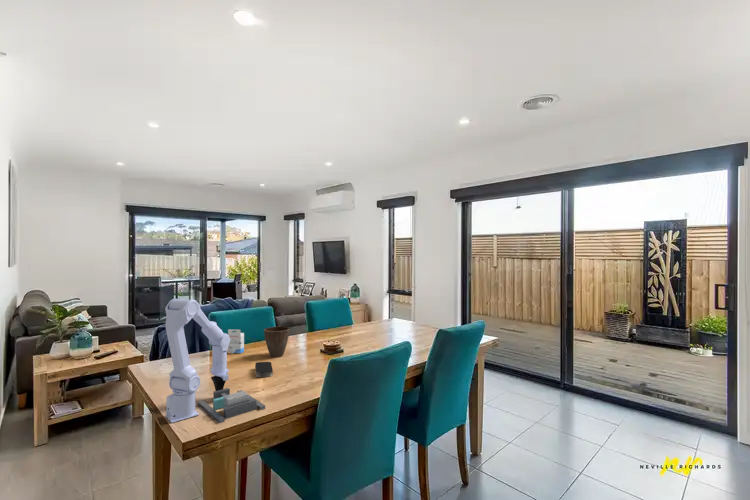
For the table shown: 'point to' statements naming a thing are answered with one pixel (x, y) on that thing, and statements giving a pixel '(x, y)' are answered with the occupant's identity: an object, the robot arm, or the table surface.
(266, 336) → the plant pot
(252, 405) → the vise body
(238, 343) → the ink box
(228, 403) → the steel block
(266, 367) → the black sponge
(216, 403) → the sliding jaw
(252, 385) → the table surface
